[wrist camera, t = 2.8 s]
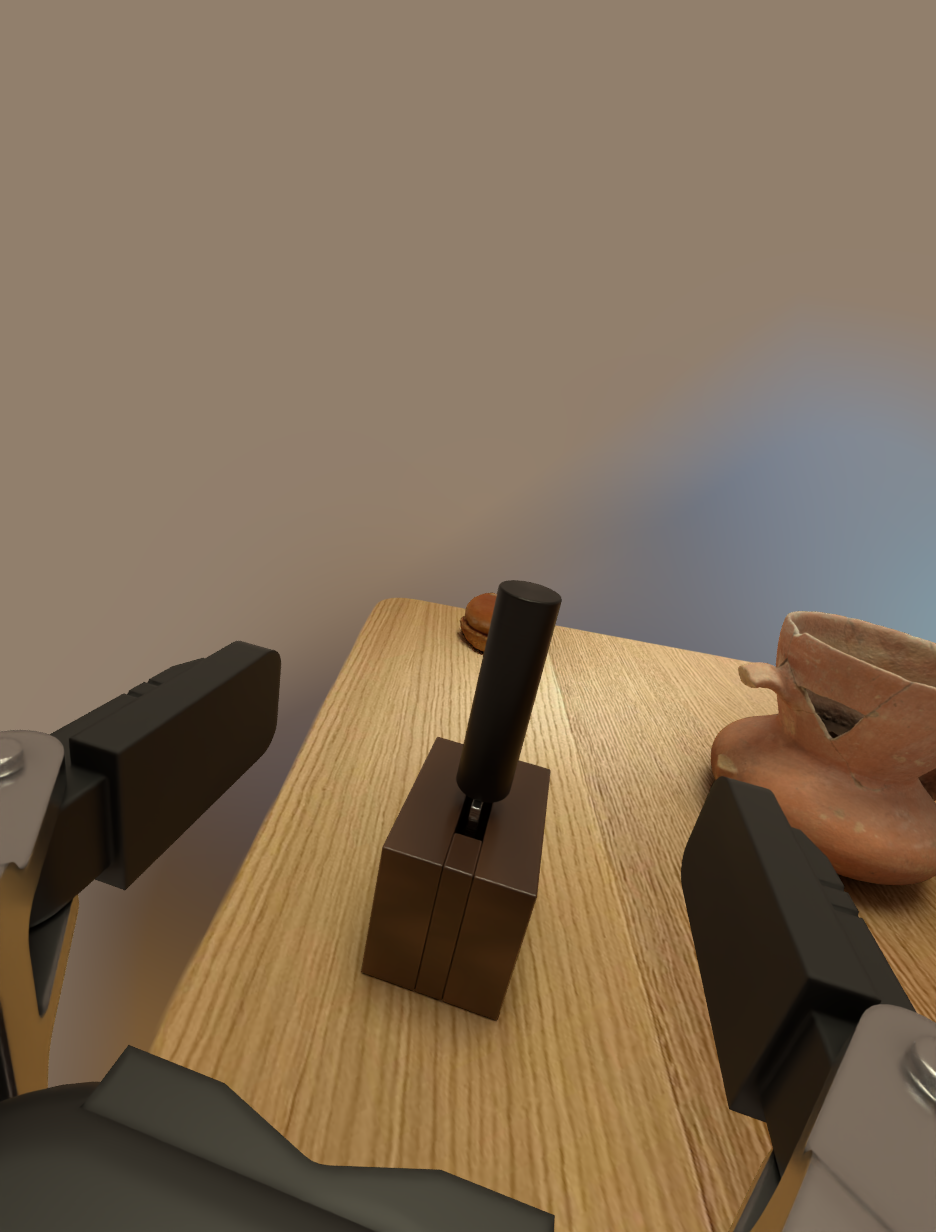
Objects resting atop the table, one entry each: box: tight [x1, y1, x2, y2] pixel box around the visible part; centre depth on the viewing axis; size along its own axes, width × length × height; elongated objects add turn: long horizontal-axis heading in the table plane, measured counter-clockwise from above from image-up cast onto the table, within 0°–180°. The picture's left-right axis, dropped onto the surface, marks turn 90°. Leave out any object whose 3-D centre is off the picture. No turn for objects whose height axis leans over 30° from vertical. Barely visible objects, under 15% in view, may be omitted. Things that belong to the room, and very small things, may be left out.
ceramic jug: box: [711, 611, 936, 885], centre depth 36 cm, size 18×14×14 cm
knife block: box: [361, 737, 550, 1020], centre depth 25 cm, size 6×8×7 cm
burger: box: [460, 593, 497, 652], centre depth 58 cm, size 10×9×5 cm
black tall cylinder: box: [456, 580, 562, 839], centre depth 23 cm, size 2×3×17 cm
